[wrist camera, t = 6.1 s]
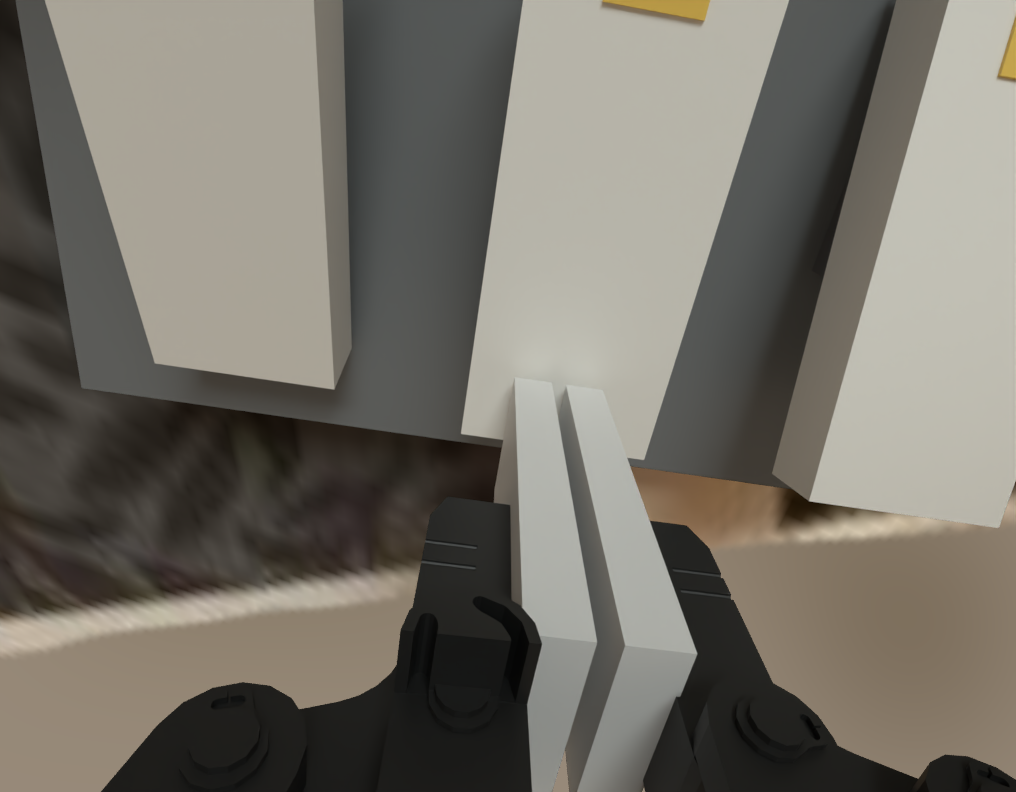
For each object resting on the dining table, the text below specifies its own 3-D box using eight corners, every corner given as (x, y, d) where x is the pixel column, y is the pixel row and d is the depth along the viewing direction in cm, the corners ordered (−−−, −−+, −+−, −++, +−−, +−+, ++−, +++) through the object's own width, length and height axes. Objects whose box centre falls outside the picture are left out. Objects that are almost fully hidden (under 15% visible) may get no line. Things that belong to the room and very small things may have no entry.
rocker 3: (902, -23, 11) (971, -72, 10) (1098, 16, 12) (1198, -25, 10) (772, 473, 13) (810, 502, 12) (940, 497, 14) (1001, 529, 12)
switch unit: (103, -258, 13) (-111, -445, 9) (1113, -50, 15) (1379, -117, 10) (163, 340, 19) (56, 412, 15) (868, 445, 21) (966, 539, 16)
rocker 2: (544, -147, 10) (550, -189, 8) (784, -98, 10) (831, -131, 8) (466, 398, 14) (460, 435, 13) (631, 423, 14) (644, 461, 13)
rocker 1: (38, -287, 8) (-56, -317, 7) (336, -224, 8) (299, -242, 7) (187, 323, 15) (153, 365, 13) (352, 348, 15) (334, 391, 14)
